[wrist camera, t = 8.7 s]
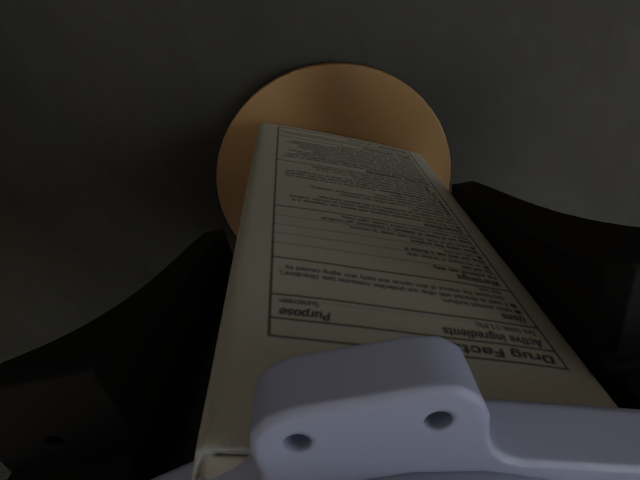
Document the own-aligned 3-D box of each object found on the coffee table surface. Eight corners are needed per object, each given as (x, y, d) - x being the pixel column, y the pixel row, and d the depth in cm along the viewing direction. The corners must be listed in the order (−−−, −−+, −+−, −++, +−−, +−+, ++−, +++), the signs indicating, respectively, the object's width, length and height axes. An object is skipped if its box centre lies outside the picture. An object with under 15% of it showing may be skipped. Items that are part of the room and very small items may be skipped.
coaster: (254, 292, 19) (253, 297, 19) (183, 91, 15) (180, 94, 14) (451, 256, 19) (454, 261, 18) (443, 35, 14) (447, 36, 14)
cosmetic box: (242, 223, 17) (149, 619, 6) (259, 116, 15) (157, 448, 4) (395, 250, 18) (534, 631, 7) (432, 153, 16) (705, 498, 5)
